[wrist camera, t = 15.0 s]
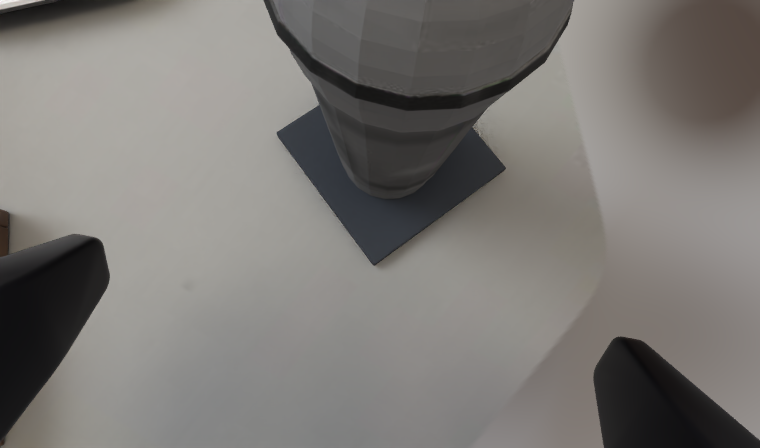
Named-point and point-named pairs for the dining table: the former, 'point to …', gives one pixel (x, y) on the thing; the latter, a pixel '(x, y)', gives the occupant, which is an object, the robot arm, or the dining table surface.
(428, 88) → the beverage cup
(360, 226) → the coaster
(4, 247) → the frame
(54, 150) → the dining table surface
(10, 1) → the plate
